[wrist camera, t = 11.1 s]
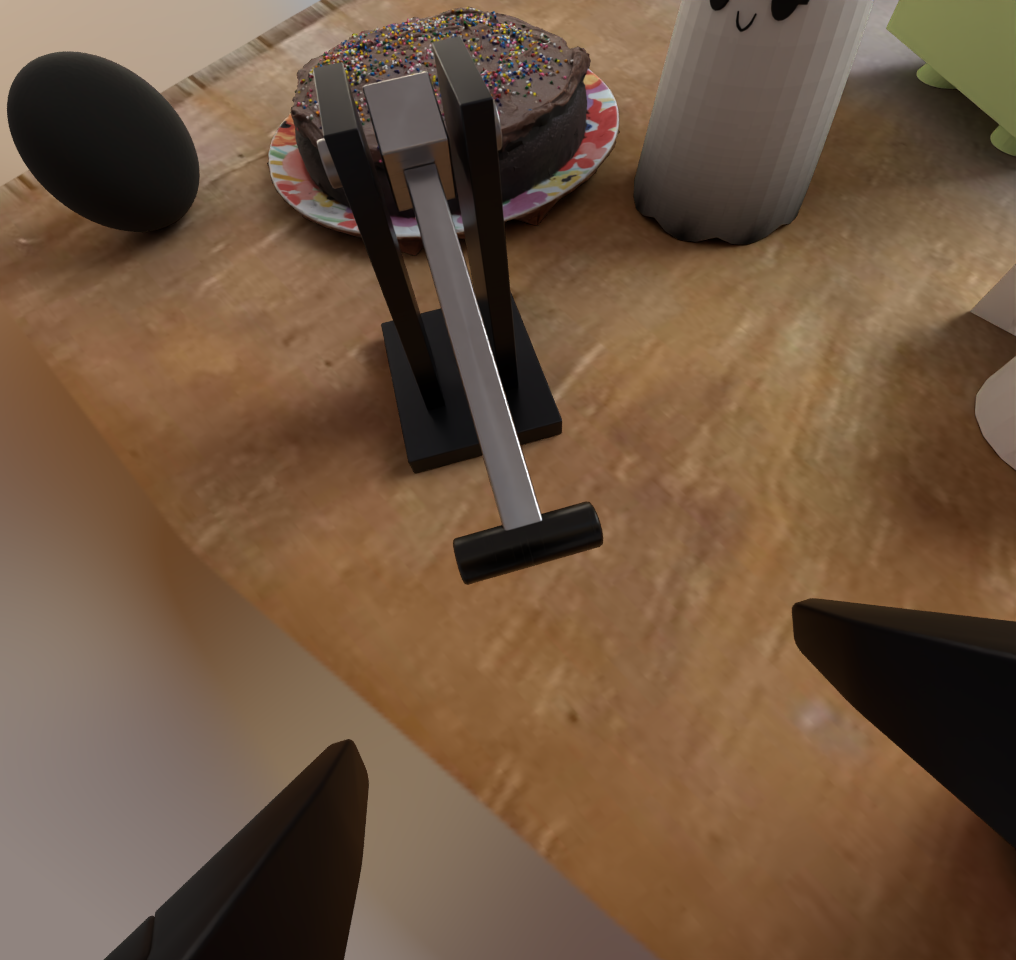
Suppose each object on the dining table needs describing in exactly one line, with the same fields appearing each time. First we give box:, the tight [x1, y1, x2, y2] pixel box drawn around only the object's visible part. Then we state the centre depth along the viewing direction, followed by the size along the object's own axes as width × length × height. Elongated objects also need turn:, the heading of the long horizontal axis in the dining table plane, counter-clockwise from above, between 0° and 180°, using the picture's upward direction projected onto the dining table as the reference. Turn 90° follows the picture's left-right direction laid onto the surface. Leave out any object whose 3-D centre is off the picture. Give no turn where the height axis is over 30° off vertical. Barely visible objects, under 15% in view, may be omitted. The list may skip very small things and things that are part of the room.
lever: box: [363, 72, 603, 585], centre depth 15 cm, size 16×4×2 cm, turn 15°
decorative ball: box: [7, 52, 199, 232], centre depth 33 cm, size 10×10×10 cm
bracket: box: [313, 36, 562, 473], centre depth 21 cm, size 10×8×14 cm
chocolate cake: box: [267, 7, 620, 256], centre depth 36 cm, size 28×28×7 cm
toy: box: [634, 0, 874, 244], centre depth 27 cm, size 11×11×15 cm
